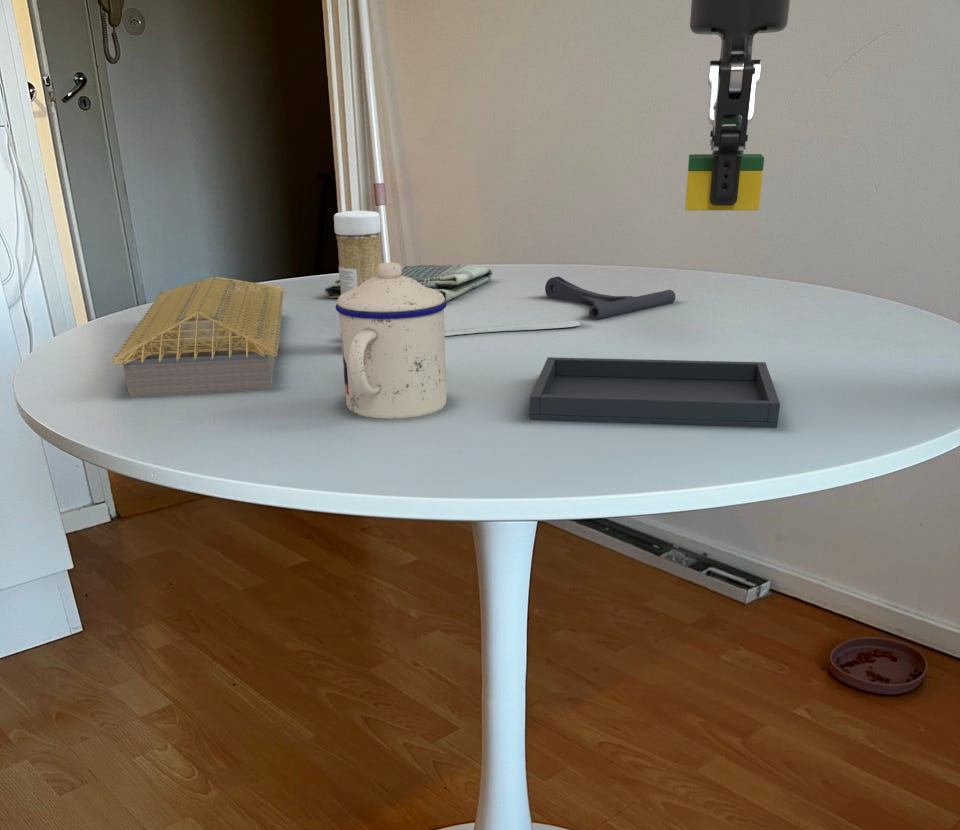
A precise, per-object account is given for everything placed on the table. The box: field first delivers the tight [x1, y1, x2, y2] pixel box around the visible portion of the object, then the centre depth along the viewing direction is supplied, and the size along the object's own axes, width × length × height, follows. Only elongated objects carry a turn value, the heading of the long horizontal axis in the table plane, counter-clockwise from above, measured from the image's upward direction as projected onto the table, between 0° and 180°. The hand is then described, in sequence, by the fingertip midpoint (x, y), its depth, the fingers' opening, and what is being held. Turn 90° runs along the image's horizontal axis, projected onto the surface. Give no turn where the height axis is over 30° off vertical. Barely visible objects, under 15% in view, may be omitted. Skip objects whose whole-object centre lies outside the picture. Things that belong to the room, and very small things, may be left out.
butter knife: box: [444, 320, 581, 337], centre depth 111 cm, size 1×27×3 cm
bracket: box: [544, 276, 676, 321], centre depth 125 cm, size 14×15×3 cm
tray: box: [529, 356, 781, 429], centre depth 86 cm, size 20×14×2 cm
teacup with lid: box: [335, 262, 448, 420], centre depth 83 cm, size 12×9×12 cm
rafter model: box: [109, 276, 285, 398], centre depth 104 cm, size 35×14×6 cm, turn 9°
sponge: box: [684, 153, 765, 211], centre depth 85 cm, size 6×4×4 cm
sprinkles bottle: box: [333, 210, 382, 295], centre depth 102 cm, size 5×5×14 cm
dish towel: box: [324, 263, 493, 302], centre depth 136 cm, size 19×18×3 cm
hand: (722, 200), depth 85 cm, fingers closed on sponge, 4 cm apart
